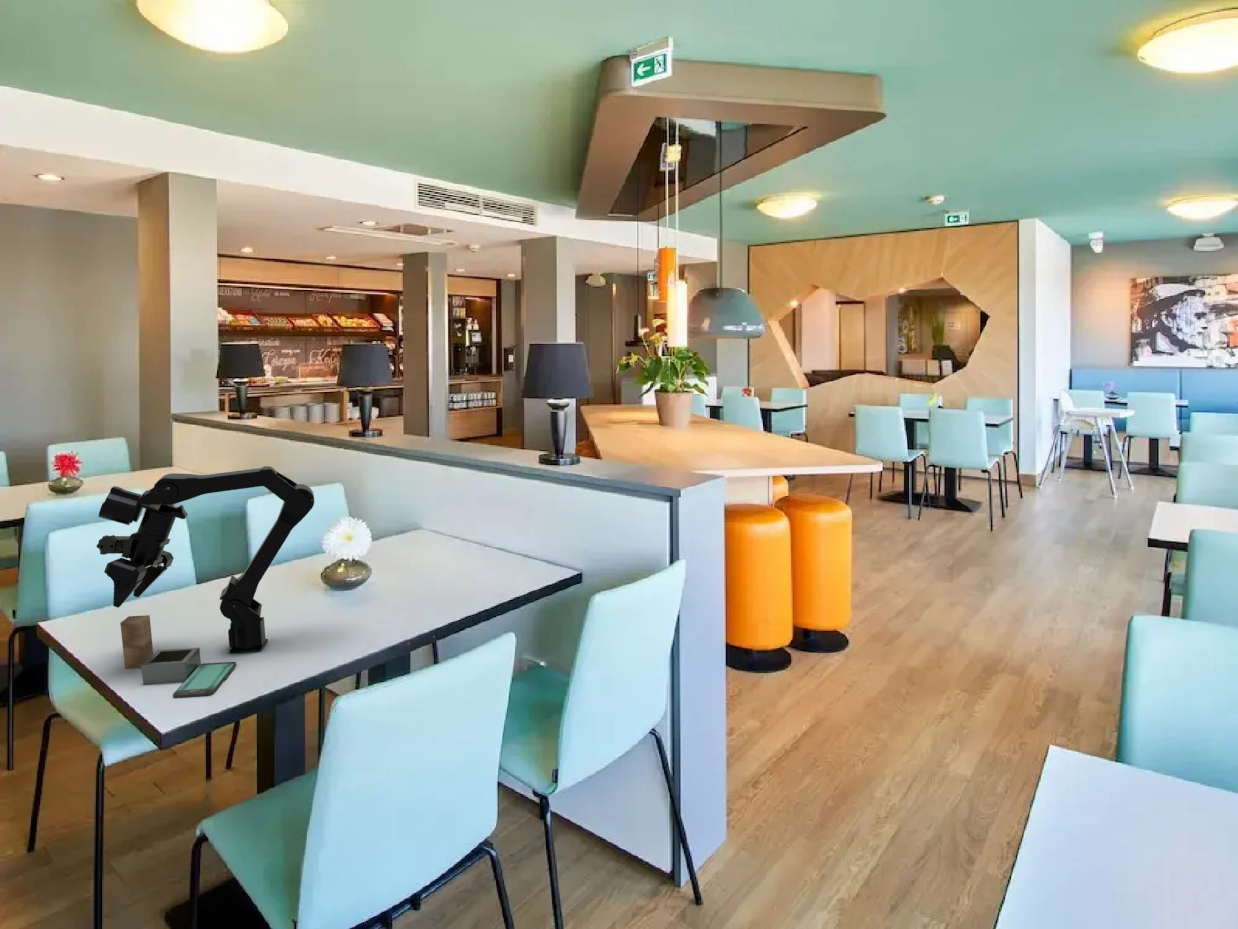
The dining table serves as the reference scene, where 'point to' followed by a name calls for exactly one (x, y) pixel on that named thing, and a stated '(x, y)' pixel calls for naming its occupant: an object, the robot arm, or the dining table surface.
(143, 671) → the gray open box
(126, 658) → the rail post
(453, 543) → the dining table surface
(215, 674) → the smartphone
